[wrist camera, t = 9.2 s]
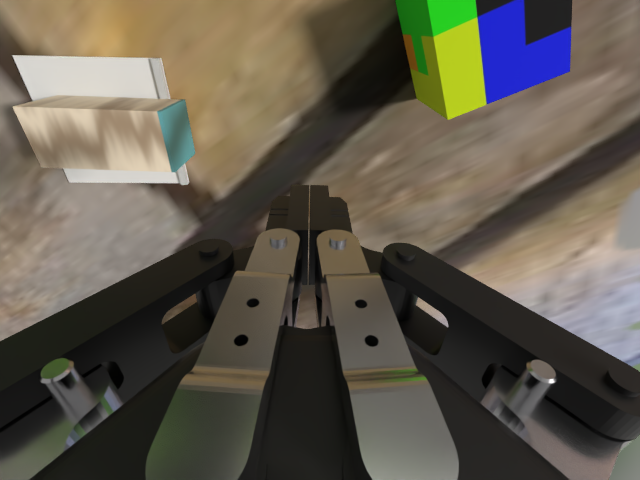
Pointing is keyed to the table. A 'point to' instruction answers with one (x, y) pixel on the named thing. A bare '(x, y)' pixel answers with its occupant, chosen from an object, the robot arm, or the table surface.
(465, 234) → the table surface
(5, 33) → the table surface
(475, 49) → the puzzle toy
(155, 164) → the maple block
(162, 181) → the mat
